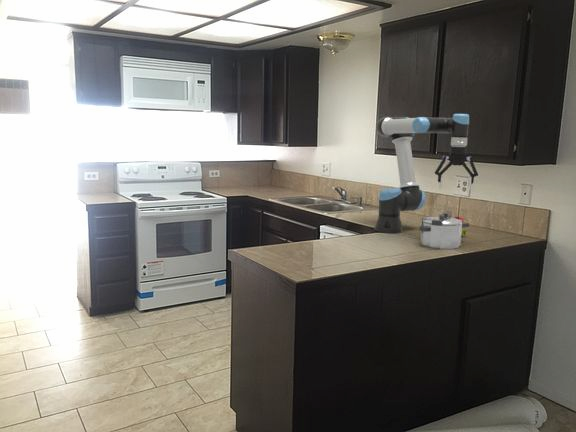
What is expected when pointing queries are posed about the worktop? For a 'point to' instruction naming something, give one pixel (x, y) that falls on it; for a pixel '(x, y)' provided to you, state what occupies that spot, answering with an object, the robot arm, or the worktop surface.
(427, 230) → the pot
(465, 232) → the bird rattle
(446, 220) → the lid
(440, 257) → the worktop surface
